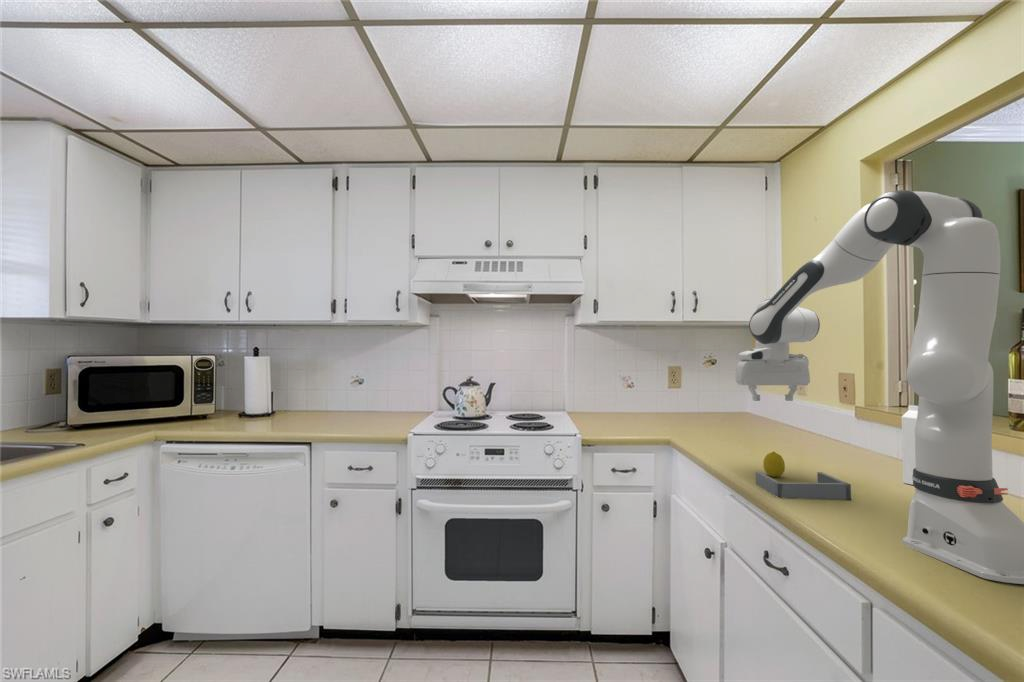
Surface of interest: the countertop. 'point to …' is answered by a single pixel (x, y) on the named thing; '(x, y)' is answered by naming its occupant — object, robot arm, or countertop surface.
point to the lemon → (774, 464)
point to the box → (807, 488)
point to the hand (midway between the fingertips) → (772, 400)
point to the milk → (909, 443)
